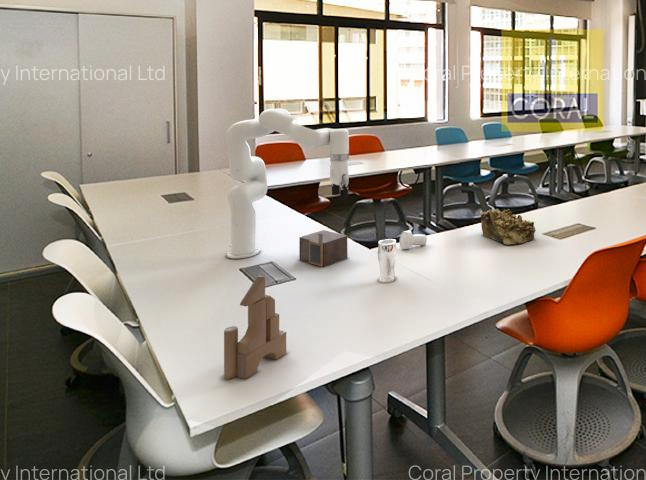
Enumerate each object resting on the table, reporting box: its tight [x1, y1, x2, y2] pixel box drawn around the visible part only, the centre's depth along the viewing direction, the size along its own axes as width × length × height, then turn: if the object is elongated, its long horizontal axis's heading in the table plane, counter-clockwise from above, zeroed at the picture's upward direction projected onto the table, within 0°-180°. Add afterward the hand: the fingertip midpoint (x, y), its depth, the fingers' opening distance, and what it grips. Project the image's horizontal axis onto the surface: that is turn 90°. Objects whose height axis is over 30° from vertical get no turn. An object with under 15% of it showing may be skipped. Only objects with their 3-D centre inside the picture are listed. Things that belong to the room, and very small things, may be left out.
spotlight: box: [399, 230, 428, 250], centre depth 247 cm, size 8×11×8 cm
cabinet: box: [298, 229, 348, 268], centre depth 231 cm, size 12×16×10 cm
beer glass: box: [377, 238, 397, 283], centre depth 209 cm, size 7×7×15 cm
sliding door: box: [308, 233, 323, 267], centre depth 223 cm, size 1×8×14 cm, turn 60°
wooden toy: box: [223, 275, 287, 380], centre depth 148 cm, size 16×7×25 cm, turn 162°
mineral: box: [480, 208, 536, 246], centre depth 264 cm, size 27×25×15 cm
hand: (339, 196), depth 231 cm, fingers open, 9 cm apart
